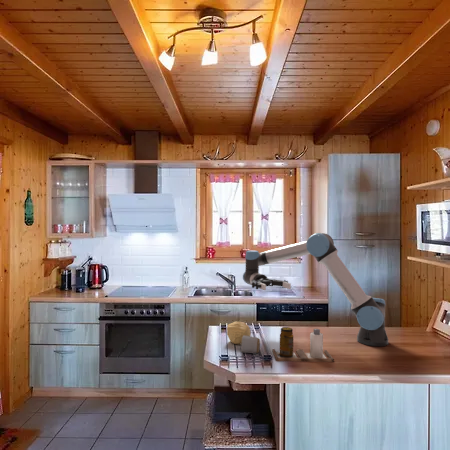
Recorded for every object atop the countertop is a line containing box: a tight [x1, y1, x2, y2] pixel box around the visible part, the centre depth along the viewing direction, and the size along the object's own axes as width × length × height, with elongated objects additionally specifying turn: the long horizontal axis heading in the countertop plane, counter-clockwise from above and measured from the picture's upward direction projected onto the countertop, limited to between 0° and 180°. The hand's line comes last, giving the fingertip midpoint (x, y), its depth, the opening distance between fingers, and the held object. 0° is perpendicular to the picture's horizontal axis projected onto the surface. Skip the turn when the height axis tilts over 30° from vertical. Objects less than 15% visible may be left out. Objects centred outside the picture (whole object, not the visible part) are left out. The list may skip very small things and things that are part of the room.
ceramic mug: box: [240, 335, 261, 354], centre depth 169 cm, size 11×8×8 cm
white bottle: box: [309, 328, 324, 358], centre depth 160 cm, size 6×6×12 cm
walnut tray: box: [272, 348, 335, 363], centre depth 160 cm, size 25×12×2 cm, turn 90°
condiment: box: [276, 326, 298, 358], centre depth 160 cm, size 7×8×12 cm
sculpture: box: [226, 321, 252, 346], centre depth 182 cm, size 12×12×11 cm
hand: (277, 286), depth 174 cm, fingers open, 13 cm apart
